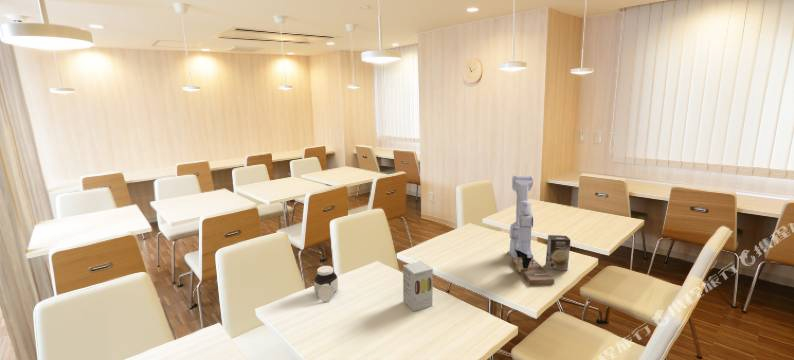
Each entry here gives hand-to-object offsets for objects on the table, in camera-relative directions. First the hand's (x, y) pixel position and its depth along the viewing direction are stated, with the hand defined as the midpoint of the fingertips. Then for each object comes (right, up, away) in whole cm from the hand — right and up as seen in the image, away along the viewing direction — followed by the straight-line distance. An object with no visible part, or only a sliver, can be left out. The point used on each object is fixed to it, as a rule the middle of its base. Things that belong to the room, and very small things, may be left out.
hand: (523, 265), depth 185 cm
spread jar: (-92, -10, -17) cm, 94 cm away
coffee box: (+18, -2, +5) cm, 19 cm away
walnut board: (+4, -4, 0) cm, 5 cm away
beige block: (+1, -2, +1) cm, 3 cm away
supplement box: (-53, -11, -25) cm, 59 cm away
